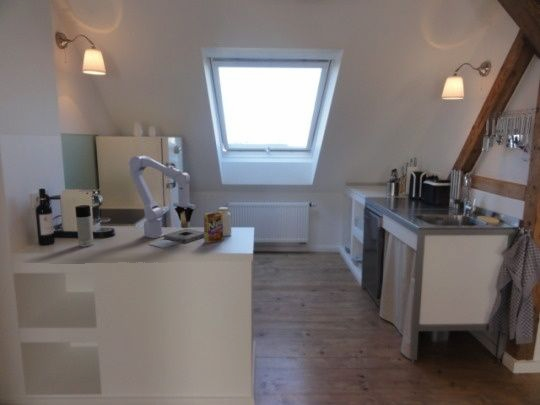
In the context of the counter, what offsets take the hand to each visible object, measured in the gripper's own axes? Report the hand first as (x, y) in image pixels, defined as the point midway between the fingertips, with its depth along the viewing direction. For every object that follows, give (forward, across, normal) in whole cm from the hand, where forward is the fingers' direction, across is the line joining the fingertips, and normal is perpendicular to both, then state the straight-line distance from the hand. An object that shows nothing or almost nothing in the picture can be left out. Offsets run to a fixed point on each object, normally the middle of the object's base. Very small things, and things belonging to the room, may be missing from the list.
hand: (184, 220), depth 202 cm
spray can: (+9, -32, -37) cm, 50 cm away
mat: (+9, 0, -15) cm, 17 cm away
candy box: (+9, +18, +2) cm, 20 cm away
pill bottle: (+9, +14, +15) cm, 23 cm away
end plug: (+3, 0, 0) cm, 3 cm away
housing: (+9, 0, 0) cm, 9 cm away
